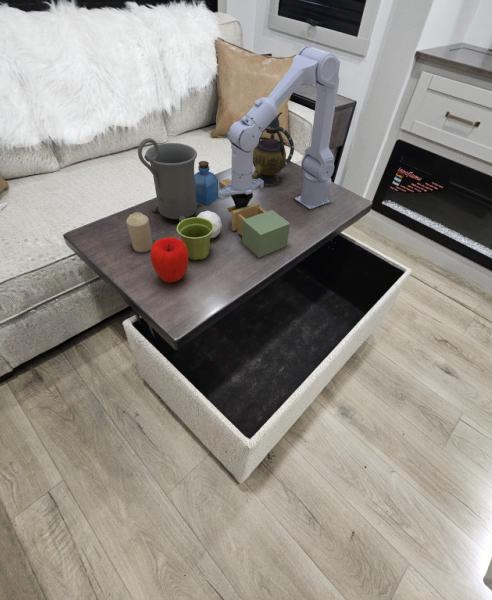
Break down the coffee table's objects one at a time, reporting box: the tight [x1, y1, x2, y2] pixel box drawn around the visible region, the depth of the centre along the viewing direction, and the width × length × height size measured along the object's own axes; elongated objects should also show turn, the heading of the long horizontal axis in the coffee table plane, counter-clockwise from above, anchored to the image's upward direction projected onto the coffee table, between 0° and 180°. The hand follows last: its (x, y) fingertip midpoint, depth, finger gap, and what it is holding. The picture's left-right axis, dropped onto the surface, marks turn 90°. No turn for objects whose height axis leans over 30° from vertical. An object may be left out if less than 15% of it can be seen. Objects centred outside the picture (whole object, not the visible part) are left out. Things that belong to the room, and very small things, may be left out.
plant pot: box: [176, 216, 214, 261], centre depth 89 cm, size 9×9×9 cm
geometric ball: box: [196, 210, 223, 239], centre depth 96 cm, size 8×8×8 cm
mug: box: [137, 137, 199, 223], centre depth 95 cm, size 19×15×25 cm
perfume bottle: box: [194, 160, 219, 206], centre depth 109 cm, size 6×6×12 cm
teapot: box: [252, 111, 295, 187], centre depth 114 cm, size 12×25×23 cm, turn 145°
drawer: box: [226, 202, 267, 236], centre depth 99 cm, size 12×9×6 cm
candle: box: [125, 211, 154, 253], centre depth 89 cm, size 6×6×10 cm
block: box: [218, 178, 231, 190], centre depth 115 cm, size 4×4×4 cm
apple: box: [149, 236, 189, 283], centre depth 81 cm, size 9×9×11 cm
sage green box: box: [241, 209, 291, 259], centre depth 94 cm, size 8×10×8 cm
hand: (240, 214), depth 101 cm, fingers closed, pressing on drawer
